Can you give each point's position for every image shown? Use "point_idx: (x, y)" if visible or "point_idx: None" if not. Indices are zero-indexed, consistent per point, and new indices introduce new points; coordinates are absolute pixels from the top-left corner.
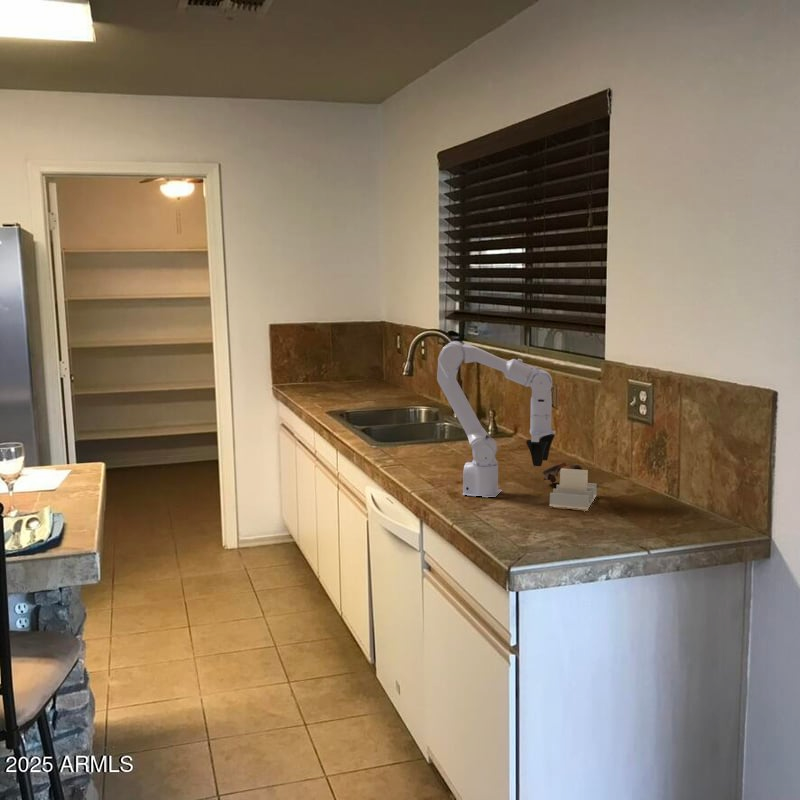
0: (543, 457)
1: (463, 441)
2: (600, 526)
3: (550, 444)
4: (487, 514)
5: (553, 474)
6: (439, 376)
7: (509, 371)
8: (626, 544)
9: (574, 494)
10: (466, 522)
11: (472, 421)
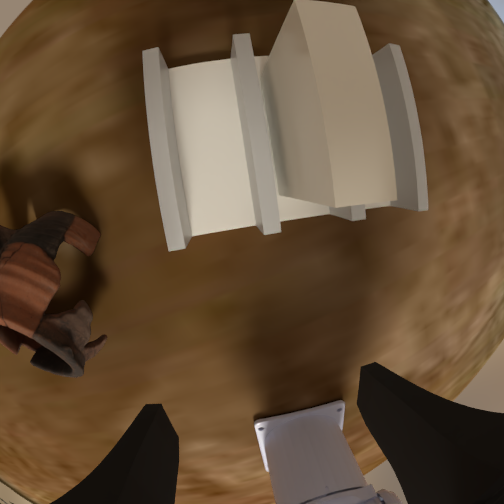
0: (167, 435)
1: (5, 481)
2: (456, 42)
3: (104, 498)
4: (467, 328)
5: (88, 324)
6: None
7: None
8: (491, 20)
9: (405, 99)
10: (501, 327)
11: None
